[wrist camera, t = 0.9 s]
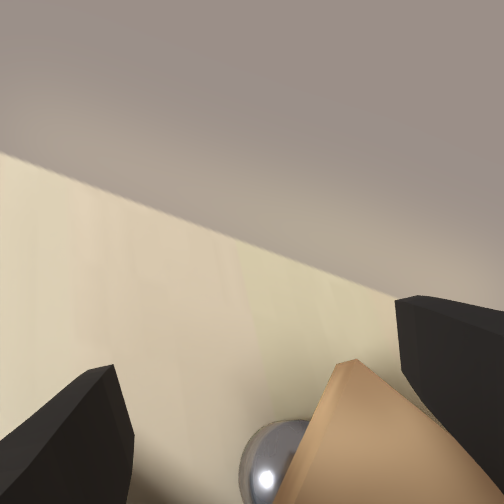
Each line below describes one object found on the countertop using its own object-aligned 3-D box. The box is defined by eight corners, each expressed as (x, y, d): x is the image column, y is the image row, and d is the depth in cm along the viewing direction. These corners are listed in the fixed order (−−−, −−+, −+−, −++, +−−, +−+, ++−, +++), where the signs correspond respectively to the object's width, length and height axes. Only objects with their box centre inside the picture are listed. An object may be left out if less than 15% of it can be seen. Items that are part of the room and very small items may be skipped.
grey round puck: (298, 553, 21) (321, 563, 19) (218, 494, 20) (233, 499, 18) (337, 456, 23) (360, 457, 22) (267, 402, 23) (285, 399, 21)
